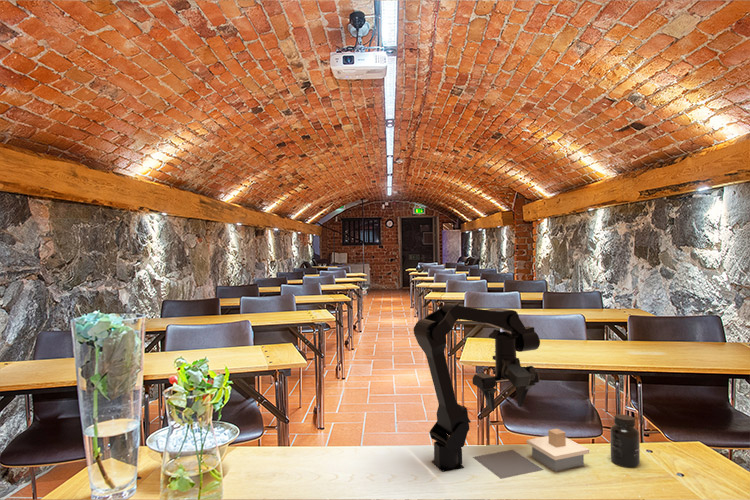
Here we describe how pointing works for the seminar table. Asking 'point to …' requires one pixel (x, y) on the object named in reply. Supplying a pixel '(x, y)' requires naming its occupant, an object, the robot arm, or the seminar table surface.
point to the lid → (557, 445)
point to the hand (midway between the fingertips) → (506, 408)
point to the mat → (507, 464)
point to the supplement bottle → (625, 441)
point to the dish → (558, 461)
